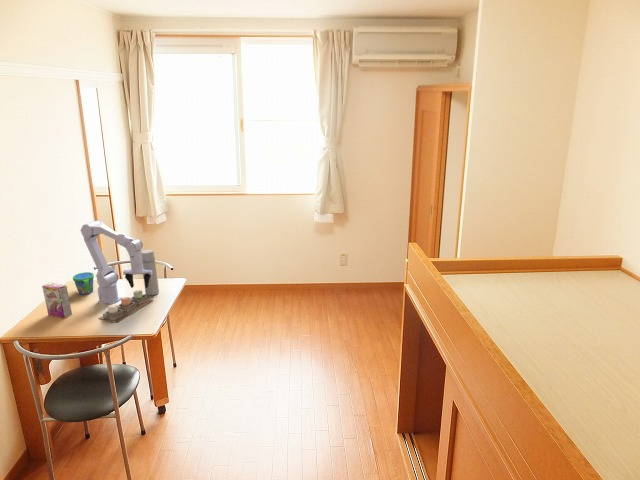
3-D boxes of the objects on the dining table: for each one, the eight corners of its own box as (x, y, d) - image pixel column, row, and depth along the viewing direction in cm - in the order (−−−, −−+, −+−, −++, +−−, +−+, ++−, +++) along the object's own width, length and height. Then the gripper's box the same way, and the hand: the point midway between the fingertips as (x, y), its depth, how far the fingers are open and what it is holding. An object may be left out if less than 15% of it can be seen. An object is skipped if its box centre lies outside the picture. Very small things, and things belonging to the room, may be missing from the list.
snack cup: (98, 294, 251) (95, 278, 248) (77, 299, 246) (73, 282, 243) (94, 285, 264) (91, 269, 260) (74, 289, 258) (71, 273, 255)
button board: (98, 318, 224) (97, 313, 223) (135, 297, 247) (134, 292, 246) (117, 322, 220) (116, 317, 219) (153, 300, 243) (152, 295, 242)
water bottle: (162, 292, 254) (157, 250, 246) (150, 297, 247) (145, 254, 240) (151, 288, 258) (146, 247, 251) (140, 293, 252) (134, 251, 244)
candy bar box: (47, 315, 228) (41, 285, 223) (56, 311, 232) (50, 282, 227) (64, 318, 224) (58, 288, 219) (72, 314, 229) (67, 284, 224)
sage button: (132, 299, 240) (131, 293, 238) (138, 296, 243) (137, 290, 242) (139, 300, 238) (138, 294, 237) (144, 297, 242) (143, 291, 241)
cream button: (106, 314, 223) (105, 307, 222) (113, 310, 227) (112, 303, 226) (113, 315, 222) (112, 308, 221) (120, 312, 226) (119, 305, 225)
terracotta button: (120, 306, 231) (119, 300, 230) (126, 303, 235) (125, 296, 234) (126, 308, 230) (125, 301, 229) (132, 304, 234) (132, 297, 233)
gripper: (119, 265, 228) (122, 290, 232) (148, 265, 228) (151, 290, 232) (124, 260, 234) (128, 284, 239) (152, 260, 235) (155, 284, 239)
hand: (139, 287), depth 236 cm, fingers open, 7 cm apart
